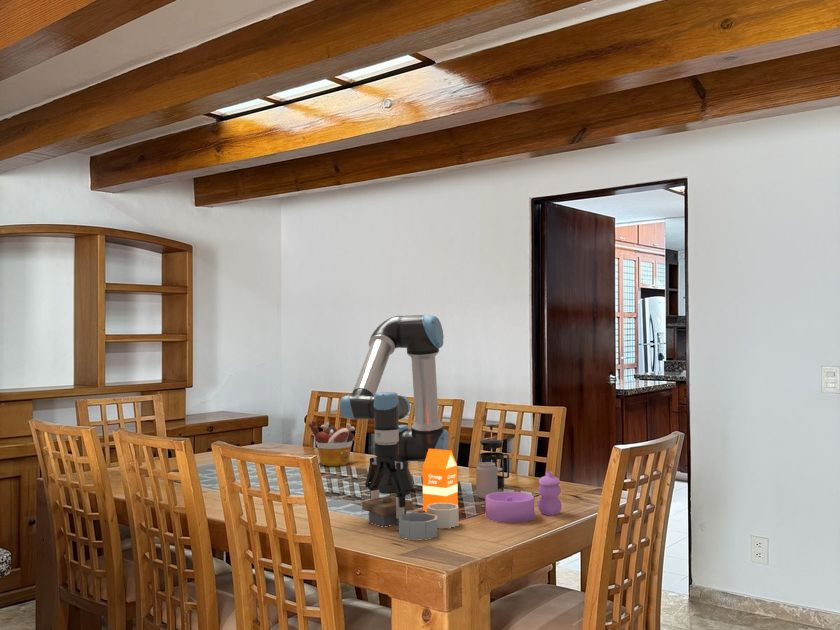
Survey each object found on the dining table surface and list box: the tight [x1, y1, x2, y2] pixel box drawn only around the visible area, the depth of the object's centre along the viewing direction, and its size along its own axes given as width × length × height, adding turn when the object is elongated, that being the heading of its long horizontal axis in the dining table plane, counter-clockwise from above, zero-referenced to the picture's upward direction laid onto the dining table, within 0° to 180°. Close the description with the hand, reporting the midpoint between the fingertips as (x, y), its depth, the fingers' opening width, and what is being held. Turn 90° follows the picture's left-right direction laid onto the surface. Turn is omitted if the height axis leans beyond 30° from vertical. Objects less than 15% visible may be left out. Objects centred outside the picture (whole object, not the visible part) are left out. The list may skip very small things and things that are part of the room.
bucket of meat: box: [308, 419, 356, 467], centre depth 341 cm, size 20×16×20 cm
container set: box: [484, 471, 562, 524], centre depth 245 cm, size 25×15×13 cm, turn 106°
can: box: [475, 461, 499, 500], centre depth 271 cm, size 8×8×12 cm
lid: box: [361, 495, 414, 516], centre depth 238 cm, size 11×11×4 cm
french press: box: [479, 424, 510, 489], centre depth 290 cm, size 12×9×23 cm
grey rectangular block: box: [368, 511, 407, 528], centre depth 238 cm, size 7×9×4 cm
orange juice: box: [422, 449, 459, 513], centre depth 253 cm, size 8×9×20 cm
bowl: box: [426, 503, 460, 529], centre depth 235 cm, size 10×10×6 cm
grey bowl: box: [398, 512, 438, 541], centre depth 224 cm, size 11×11×5 cm
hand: (387, 514), depth 238 cm, fingers closed on lid, 11 cm apart
